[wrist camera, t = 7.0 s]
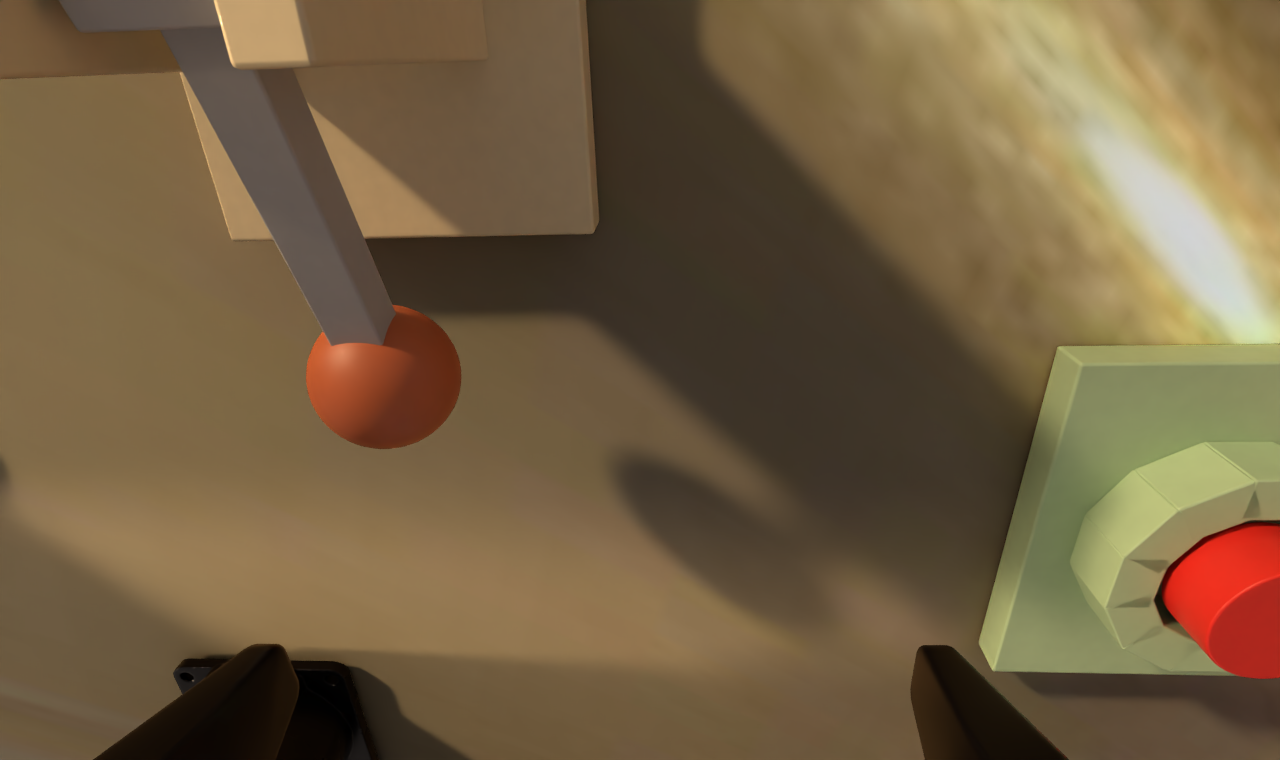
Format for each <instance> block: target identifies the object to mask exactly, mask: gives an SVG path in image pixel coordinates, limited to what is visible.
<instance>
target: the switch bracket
mask: <svg viewBox="0 0 1280 760" xmlns="http://www.w3.org/2000/svg"><path fill="white" fill-rule="evenodd" d="M214 4H215V7H216V11H217V14H218V18H219V22H220V25H221V29H222V32H223V36H224V40H225V43H226V47H227V50H228V54H229V58H230V61H231V63H232V65H233V67H235V68H238V69H240V70H255V69H282V68H293V71H294V73H295V75H296V78H297V80H298V82H299V85H300V87H301V90H302V92H303V94H304V97H305V99H306V101H307V104H308V106H309V109H310V111H311V113H312V116H313V118H314V120H315V123H316V125H317V128H318V130H319V132H320V135H321V137H322V139H323V142H324V144H325V146H326V149H327V151H328V154H329V156H330V158H331V161H332V163H333V165H334V168H335V170H336V173H337V175H338V177H339V180H340V182H341V184H342V187H343V189H344V192H345V194H346V196H347V199H348V201H349V203H350V206H351V208H352V211H353V213H354V215H355V218H356V220H357V222H358V225H359V227H360V230H361V232H362V234H363V237H364V239H370V238H417V237H464V236H512V235H559V234H592V233H594V231H595V229H596V227H597V225H598V222H599V208H598V192H597V176H596V159H595V143H594V126H593V110H592V93H591V77H590V61H589V44H588V28H587V11H586V0H214ZM166 72H180V76H181V79H182V82H183V85H184V89H185V92H186V95H187V98H188V101H189V105H190V108H191V111H192V114H193V118H194V121H195V124H196V127H197V130H198V134H199V137H200V140H201V143H202V147H203V150H204V153H205V156H206V159H207V163H208V166H209V169H210V172H211V176H212V179H213V182H214V185H215V189H216V192H217V195H218V198H219V201H220V205H221V208H222V211H223V214H224V218H225V221H226V224H227V227H228V230H229V234H230V237H231V239H232V240H233V241H274V240H273V238H272V236H271V234H270V233H269V231H268V229H267V227H266V225H265V223H264V221H263V220H262V218H261V216H260V214H259V212H258V210H257V209H256V207H255V205H254V203H253V201H252V199H251V197H250V196H249V194H248V192H247V190H246V188H245V186H244V185H243V183H242V181H241V179H240V177H239V175H238V173H237V172H236V170H235V168H234V166H233V164H232V162H231V161H230V159H229V157H228V155H227V153H226V151H225V149H224V148H223V146H222V144H221V142H220V140H219V138H218V137H217V135H216V133H215V131H214V129H213V127H212V125H211V124H210V122H209V120H208V118H207V116H206V114H205V113H204V111H203V109H202V107H201V105H200V103H199V101H198V100H197V98H196V96H195V94H194V92H193V90H192V89H191V87H190V85H189V83H188V81H187V79H186V77H185V76H184V74H183V72H182V70H181V68H180V66H179V65H178V63H177V61H176V59H175V57H174V55H173V53H172V52H171V50H170V48H169V46H168V44H167V42H166V41H165V39H164V37H163V35H162V33H161V31H160V30H142V31H118V32H94V33H82V32H79V31H78V30H77V29H76V27H75V26H74V24H73V23H72V21H71V19H70V18H69V16H68V15H67V13H66V12H65V10H64V8H63V7H62V5H61V4H60V2H59V0H0V79H14V78H39V77H65V76H90V75H116V74H141V73H166Z"/></svg>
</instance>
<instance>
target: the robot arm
mask: <svg viewBox="0 0 1280 760" xmlns="http://www.w3.org/2000/svg"><path fill="white" fill-rule="evenodd" d="M173 674H174V678H175V680H176V682H177V684H178V686H179V688H180V690H181V692H182V694H183V695H181V696H180V697H178V698H177V699H176V700H174V701H173V702H172V703H170V704H169V705H167V706H166V707H165V708H163V709H162V710H161V711H159V712H158V713H156V714H155V715H154V716H152V717H151V718H150V719H148V720H147V721H146V722H144V723H143V724H141V725H140V726H139V727H137V728H136V729H135V730H133V731H132V732H130V733H129V734H128V735H126V736H125V737H124V738H122V739H121V740H119V741H118V742H117V743H115V744H114V745H113V746H111V747H110V748H108V749H107V750H106V751H104V752H103V753H102V754H100V755H99V756H98V757H96V758H95V759H93V760H378V757H377V754H376V751H375V748H374V744H373V741H372V738H371V735H370V732H369V729H368V726H367V723H366V720H365V717H364V714H363V711H362V707H361V704H360V701H359V698H358V695H357V692H356V689H355V686H354V683H353V680H352V677H351V674H350V671H349V669H348V668H347V667H346V666H345V665H344V664H342V663H339V662H334V661H290V660H289V657H288V655H287V652H286V650H285V649H284V647H282V646H281V645H279V644H254V645H251V646H249V647H247V648H246V649H244V650H243V651H241V652H240V653H239V654H237V655H236V656H235V657H233V658H232V659H185V660H183V661H182V662H181V663H180V664H179V665H178V667H177V668H176V669H175V671H174V673H173ZM911 701H912V706H913V711H914V715H915V719H916V723H917V728H918V732H919V736H920V740H921V744H922V749H923V753H924V757H925V760H1069V759H1068V758H1067V757H1066V756H1065V755H1064V754H1063V753H1062V752H1061V751H1060V750H1059V749H1058V748H1056V747H1055V746H1054V745H1053V744H1052V743H1051V742H1050V741H1049V740H1048V739H1047V738H1046V737H1045V736H1044V735H1043V734H1042V733H1041V732H1040V731H1039V730H1038V729H1037V728H1036V727H1035V726H1034V725H1033V724H1032V723H1031V722H1030V721H1029V720H1028V719H1027V718H1026V717H1024V716H1023V715H1022V714H1021V713H1020V712H1019V711H1018V710H1017V709H1016V708H1015V707H1014V706H1013V705H1012V704H1011V703H1010V702H1009V701H1008V700H1007V699H1006V698H1005V697H1004V696H1003V695H1002V694H1001V693H1000V692H999V691H998V690H997V689H996V688H995V687H994V686H992V685H991V684H990V683H989V682H988V681H987V680H986V679H985V678H984V677H983V676H982V675H981V674H980V673H979V672H978V671H977V670H976V669H975V668H974V667H973V666H972V665H971V664H970V663H969V662H968V661H967V660H966V659H965V658H964V657H963V656H962V655H960V654H959V653H958V652H957V651H956V650H955V649H954V648H952V647H950V646H947V645H923V646H920V647H919V649H918V650H917V654H916V659H915V665H914V670H913V676H912V682H911Z"/></svg>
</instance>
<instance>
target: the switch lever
mask: <svg viewBox="0 0 1280 760" xmlns="http://www.w3.org/2000/svg"><path fill="white" fill-rule="evenodd" d="M59 2H60V4H61V5H62V7H63V8H64V10H65V12H66V13H67V15H68V16H69V18H70V19H71V21H72V23H73V24H74V26H75V27H76V29H77V30H78V31H79V32H82V33H94V32H118V31H142V30H160V31H161V33H162V35H163V37H164V39H165V41H166V42H167V44H168V46H169V48H170V50H171V52H172V53H173V55H174V57H175V59H176V61H177V63H178V65H179V66H180V68H181V70H182V72H183V74H184V76H185V77H186V79H187V81H188V83H189V85H190V87H191V89H192V90H193V92H194V94H195V96H196V98H197V100H198V101H199V103H200V105H201V107H202V109H203V111H204V113H205V114H206V116H207V118H208V120H209V122H210V124H211V125H212V127H213V129H214V131H215V133H216V135H217V137H218V138H219V140H220V142H221V144H222V146H223V148H224V149H225V151H226V153H227V155H228V157H229V159H230V161H231V162H232V164H233V166H234V168H235V170H236V172H237V173H238V175H239V177H240V179H241V181H242V183H243V185H244V186H245V188H246V190H247V192H248V194H249V196H250V197H251V199H252V201H253V203H254V205H255V207H256V209H257V210H258V212H259V214H260V216H261V218H262V220H263V221H264V223H265V225H266V227H267V229H268V231H269V233H270V234H271V236H272V238H273V240H274V242H275V244H276V245H277V247H278V249H279V251H280V253H281V255H282V257H283V258H284V260H285V262H286V264H287V266H288V268H289V269H290V271H291V273H292V275H293V277H294V279H295V280H296V282H297V284H298V286H299V288H300V290H301V292H302V293H303V295H304V297H305V299H306V301H307V303H308V304H309V306H310V308H311V310H312V312H313V314H314V316H315V317H316V319H317V321H318V323H319V325H320V327H321V328H322V330H323V332H322V333H321V334H320V336H319V337H318V339H317V341H316V342H315V344H314V346H313V348H312V350H311V353H310V356H309V359H308V363H307V370H306V383H307V389H308V394H309V397H310V400H311V403H312V405H313V407H314V409H315V411H316V412H317V414H318V416H319V417H320V418H321V420H322V421H323V422H324V423H325V424H326V425H327V426H328V427H329V428H330V429H331V430H332V431H333V432H335V433H336V434H337V435H339V436H340V437H342V438H344V439H346V440H348V441H350V442H352V443H355V444H357V445H360V446H364V447H369V448H376V449H392V448H399V447H404V446H407V445H410V444H413V443H416V442H418V441H420V440H422V439H424V438H425V437H427V436H429V435H430V434H432V433H433V432H434V431H435V430H437V429H438V428H439V427H440V426H441V425H442V424H443V423H444V421H445V420H446V419H447V418H448V416H449V415H450V413H451V411H452V410H453V408H454V406H455V404H456V401H457V399H458V396H459V392H460V386H461V367H460V361H459V358H458V355H457V352H456V349H455V347H454V345H453V343H452V342H451V340H450V339H449V337H448V335H447V334H446V333H445V332H444V330H443V329H442V328H441V327H440V326H438V325H437V324H436V323H435V322H434V321H433V320H431V319H430V318H428V317H427V316H425V315H424V314H422V313H420V312H418V311H415V310H413V309H410V308H407V307H403V306H399V305H392V303H391V301H390V298H389V296H388V294H387V291H386V289H385V286H384V284H383V282H382V279H381V277H380V275H379V272H378V270H377V267H376V265H375V263H374V260H373V258H372V256H371V253H370V251H369V249H368V246H367V244H366V241H365V239H364V237H363V234H362V232H361V230H360V227H359V225H358V222H357V220H356V218H355V215H354V213H353V211H352V208H351V206H350V203H349V201H348V199H347V196H346V194H345V192H344V189H343V187H342V184H341V182H340V180H339V177H338V175H337V173H336V170H335V168H334V165H333V163H332V161H331V158H330V156H329V154H328V151H327V149H326V146H325V144H324V142H323V139H322V137H321V135H320V132H319V130H318V128H317V125H316V123H315V120H314V118H313V116H312V113H311V111H310V109H309V106H308V104H307V101H306V99H305V97H304V94H303V92H302V90H301V87H300V85H299V82H298V80H297V78H296V75H295V73H294V71H293V68H282V69H255V70H240V69H238V68H235V67H233V65H232V63H231V61H230V58H229V54H228V50H227V47H226V43H225V40H224V36H223V32H222V29H221V25H220V22H219V18H218V14H217V11H216V7H215V4H214V0H59Z"/></svg>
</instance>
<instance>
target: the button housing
mask: <svg viewBox="0 0 1280 760" xmlns="http://www.w3.org/2000/svg"><path fill="white" fill-rule="evenodd" d="M1251 522H1270V523H1276V524H1280V344H1219V345H1121V346H1059V347H1058V348H1057V351H1056V354H1055V358H1054V362H1053V366H1052V369H1051V373H1050V377H1049V381H1048V384H1047V388H1046V392H1045V396H1044V399H1043V403H1042V407H1041V411H1040V414H1039V418H1038V422H1037V426H1036V429H1035V433H1034V437H1033V441H1032V444H1031V448H1030V452H1029V456H1028V459H1027V463H1026V467H1025V470H1024V474H1023V478H1022V482H1021V485H1020V489H1019V493H1018V497H1017V500H1016V504H1015V508H1014V512H1013V515H1012V519H1011V523H1010V527H1009V530H1008V534H1007V538H1006V542H1005V545H1004V549H1003V553H1002V557H1001V560H1000V564H999V568H998V572H997V575H996V579H995V583H994V586H993V590H992V594H991V598H990V601H989V605H988V609H987V613H986V616H985V620H984V624H983V628H982V631H981V635H980V639H979V645H980V647H981V649H982V651H983V653H984V655H985V657H986V659H987V661H988V663H989V665H990V667H991V669H992V670H993V671H1001V672H1054V673H1107V674H1161V675H1214V676H1238V675H1234V674H1232V673H1230V672H1227V671H1225V670H1224V669H1222V668H1220V667H1219V666H1217V665H1216V664H1215V663H1214V662H1213V661H1212V660H1211V659H1210V658H1209V657H1208V656H1207V654H1206V653H1205V652H1204V651H1203V650H1202V649H1201V648H1200V646H1199V645H1198V644H1197V643H1196V642H1195V641H1194V640H1193V638H1192V637H1191V636H1190V635H1189V634H1188V633H1187V632H1186V630H1185V629H1184V628H1183V627H1182V626H1181V625H1180V624H1179V622H1178V621H1177V620H1176V619H1175V618H1174V617H1173V616H1172V615H1171V613H1170V612H1169V611H1168V610H1167V608H1166V607H1165V605H1164V602H1163V599H1162V593H1161V587H1162V581H1163V578H1164V575H1165V573H1166V571H1167V569H1168V568H1169V566H1170V565H1171V564H1172V563H1173V562H1174V561H1176V560H1177V559H1178V558H1179V557H1180V556H1182V555H1183V554H1184V553H1185V552H1186V551H1188V550H1189V549H1190V548H1191V547H1192V546H1194V545H1195V544H1196V543H1197V542H1199V541H1200V540H1201V539H1202V538H1203V537H1206V536H1208V535H1211V534H1214V533H1217V532H1220V531H1222V530H1225V529H1228V528H1231V527H1233V526H1236V525H1239V524H1244V523H1251Z"/></svg>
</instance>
